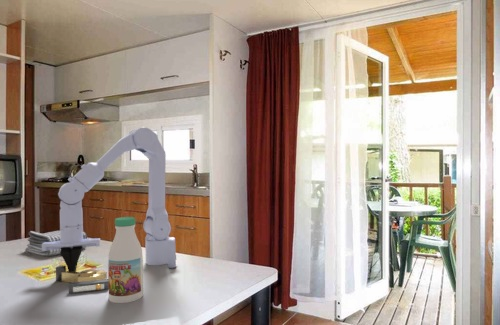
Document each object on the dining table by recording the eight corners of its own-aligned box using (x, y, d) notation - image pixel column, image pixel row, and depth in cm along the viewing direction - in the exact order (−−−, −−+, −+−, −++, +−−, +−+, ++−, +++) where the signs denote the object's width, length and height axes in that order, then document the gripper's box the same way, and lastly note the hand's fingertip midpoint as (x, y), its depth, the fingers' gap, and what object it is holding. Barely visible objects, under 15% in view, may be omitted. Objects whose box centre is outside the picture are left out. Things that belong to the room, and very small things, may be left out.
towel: (49, 258, 122) (48, 236, 122) (23, 251, 132) (23, 231, 132) (89, 249, 134) (88, 229, 134) (63, 243, 144) (63, 224, 144)
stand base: (130, 274, 102) (130, 263, 102) (127, 294, 87) (127, 280, 87) (70, 280, 97) (70, 268, 97) (56, 302, 82) (56, 288, 82)
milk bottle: (114, 296, 85) (113, 215, 85) (146, 295, 86) (145, 214, 86) (104, 309, 78) (102, 221, 77) (139, 308, 78) (137, 220, 78)
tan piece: (112, 280, 93) (112, 267, 93) (93, 289, 86) (93, 275, 86) (67, 275, 97) (67, 262, 97) (46, 284, 91) (46, 270, 91)
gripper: (38, 230, 91) (39, 281, 91) (97, 226, 95) (98, 275, 95) (45, 225, 97) (46, 273, 97) (100, 221, 102) (101, 267, 102)
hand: (72, 273), depth 97 cm, fingers closed
